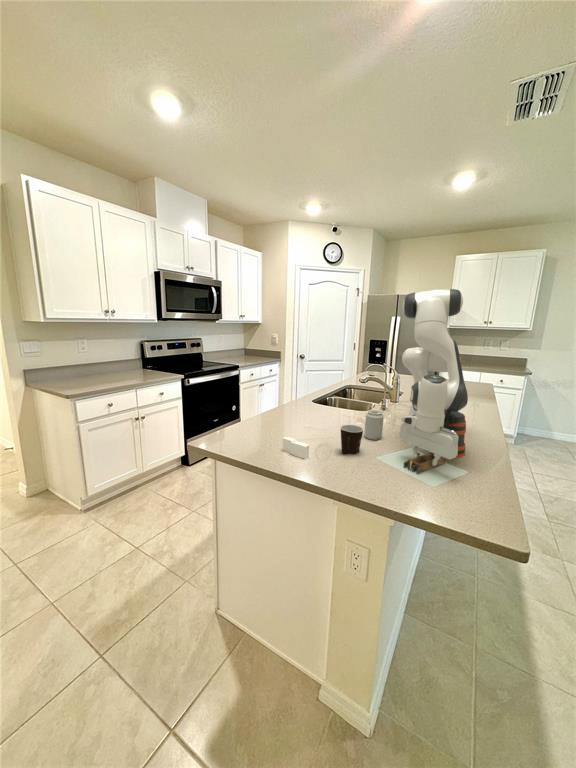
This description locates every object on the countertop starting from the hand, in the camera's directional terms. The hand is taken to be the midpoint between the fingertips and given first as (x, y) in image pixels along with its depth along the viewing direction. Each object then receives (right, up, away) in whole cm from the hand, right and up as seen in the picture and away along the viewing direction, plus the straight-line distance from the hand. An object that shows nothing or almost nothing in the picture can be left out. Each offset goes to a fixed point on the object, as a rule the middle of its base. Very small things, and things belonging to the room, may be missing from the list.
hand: (424, 461), depth 107 cm
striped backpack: (+14, -1, +14) cm, 20 cm away
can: (-10, +3, +29) cm, 31 cm away
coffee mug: (-25, 0, +11) cm, 27 cm away
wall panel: (-1, -3, +2) cm, 3 cm away
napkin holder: (-45, 0, +11) cm, 46 cm away
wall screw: (-6, -2, -3) cm, 7 cm away
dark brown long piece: (0, -2, +1) cm, 2 cm away
